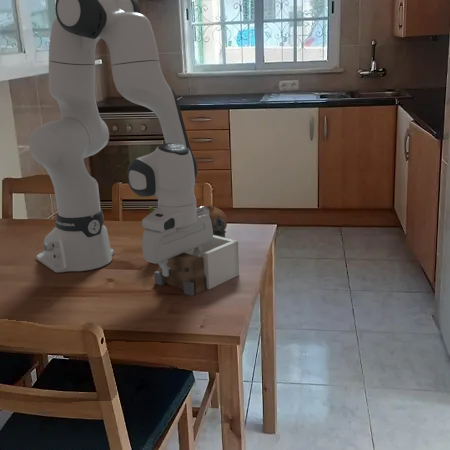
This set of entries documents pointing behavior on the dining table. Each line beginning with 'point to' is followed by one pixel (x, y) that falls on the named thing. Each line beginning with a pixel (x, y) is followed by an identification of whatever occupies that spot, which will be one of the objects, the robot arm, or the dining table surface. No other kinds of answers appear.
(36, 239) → the dining table surface
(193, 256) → the door
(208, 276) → the cabinet
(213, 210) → the onion
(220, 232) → the chess piece
